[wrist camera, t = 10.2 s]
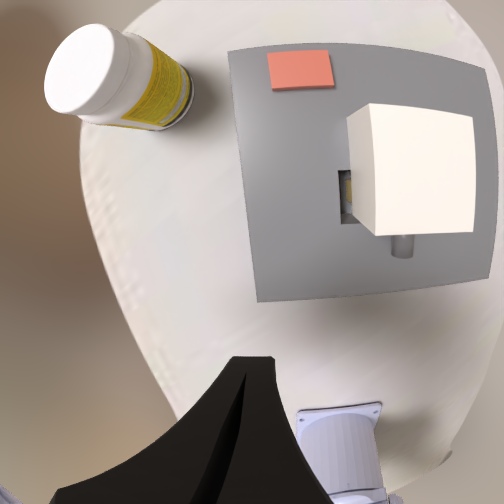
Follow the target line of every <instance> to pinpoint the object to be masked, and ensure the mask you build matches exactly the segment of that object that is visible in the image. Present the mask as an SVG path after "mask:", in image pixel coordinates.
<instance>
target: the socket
mask: <svg viewBox="0 0 504 504" xmlns="http://www.w3.org/2000/svg"><path fill="white" fill-rule="evenodd" d="M228 60H229V69H230V77H231V86H232V94H233V103H234V111H235V119H236V128H237V136H238V145H239V153H240V161H241V170H242V178H243V187H244V195H245V203H246V212H247V220H248V228H249V237H250V245H251V254H252V262H253V270H254V279H255V287H256V295H257V302H275V301H293V300H308V299H322V298H335V297H347V296H358V295H368V294H378V293H387V292H396V291H405V290H413V289H421V288H428V287H435V286H443V285H449V284H456V283H463V282H469V281H475V280H481V279H487V278H489V273H490V268H491V262H492V256H493V249H494V242H495V233H496V223H497V210H498V151H497V138H496V128H495V120H494V113H493V106H492V100H491V95H490V90H489V85H488V80H487V76H486V72H485V69H484V68H481V67H478V66H475V65H471V64H468V63H465V62H461V61H458V60H454V59H450V58H446V57H442V56H438V55H434V54H429V53H424V52H419V51H413V50H407V49H401V48H393V47H385V46H376V45H365V44H347V43H302V44H284V45H273V46H263V47H255V48H247V49H240V50H234V51H228ZM369 103H372V104H387V105H398V106H408V107H416V108H424V109H431V110H438V111H444V112H449V113H455V114H460V115H465V116H469V117H472V119H473V129H474V140H475V159H476V196H475V215H474V227H473V232H455V233H429V234H415V238H414V250H413V257H412V258H409V259H400V258H396V257H393V256H392V255H391V249H392V235H381V236H375V235H374V234H373V233H372V232H371V231H370V230H368V229H367V228H366V227H365V226H364V225H363V224H362V223H361V222H360V221H359V220H358V219H356V218H355V217H354V216H353V215H352V214H341V215H340V195H339V179H338V170H351V167H350V152H349V139H348V128H347V119H346V118H347V117H348V116H350V115H351V114H353V113H355V112H356V111H358V110H359V109H361V108H362V107H364V106H366V105H367V104H369Z"/></svg>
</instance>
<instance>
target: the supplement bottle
mask: <svg viewBox="0 0 504 504" xmlns="http://www.w3.org/2000/svg"><path fill="white" fill-rule="evenodd" d="M44 89H45V96H46V99H47V102H48V104H49V105H50V107H51V108H52V109H53V110H55V111H57V112H59V113H65V114H73V115H77V116H78V117H80V118H81V119H82V120H84V121H86V122H88V123H91V124H96V125H107V126H117V127H126V128H134V129H141V130H149V131H157V130H163V129H166V128H168V127H170V126H172V125H174V124H175V123H177V122H178V121H179V120H181V119H182V118H183V117H184V115H185V114H186V113H187V111H188V110H189V108H190V106H191V104H192V101H193V97H194V84H193V80H192V78H191V76H190V74H189V73H188V71H187V70H186V69H185V68H184V67H183V66H181V65H180V64H178V63H177V62H176V61H175V60H173V59H172V58H170V57H169V56H168V55H166V54H165V53H164V52H162V51H161V50H160V49H158V48H157V47H155V46H154V45H153V44H151V43H150V42H148V41H147V40H146V39H144V38H142V37H141V36H139V35H136V34H133V33H128V32H119V31H117V30H114V29H112V28H109V27H107V26H105V25H102V24H89V25H86V26H84V27H81V28H79V29H77V30H76V31H75V32H73V33H72V34H70V35H69V36H68V37H67V38H66V39H65V40H64V41H63V42H62V43H61V45H60V46H59V47H58V49H57V50H56V52H55V53H54V55H53V57H52V59H51V61H50V63H49V66H48V69H47V72H46V76H45V84H44Z"/></svg>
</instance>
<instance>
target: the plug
mask: <svg viewBox="0 0 504 504" xmlns="http://www.w3.org/2000/svg"><path fill="white" fill-rule="evenodd" d="M346 119H347V128H348V139H349V152H350V167H351V179H346V196H347V201H349V202H350V203H352V215H353V216H354V217H355V218H356V219H358V220H359V221H360V222H361V223H362V224H363V225H364V226H365V227H366V228H367V229H368V230H370V231H371V232H372V233H373V234H374V235H375V236H381V235H392V249H391V255H392V256H393V257H396V258H400V259H409V258H412V257H413V250H414V238H415V234H429V233H455V232H473V227H474V215H475V196H476V159H475V140H474V129H473V119H472V117H469V116H465V115H460V114H455V113H449V112H444V111H438V110H431V109H424V108H416V107H408V106H398V105H387V104H372V103H369V104H367V105H366V106H364V107H362V108H361V109H359V110H358V111H356V112H355V113H353V114H351V115H350V116H348V117H347V118H346Z"/></svg>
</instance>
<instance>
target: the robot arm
mask: <svg viewBox="0 0 504 504" xmlns="http://www.w3.org/2000/svg"><path fill="white" fill-rule="evenodd" d="M381 409H382V406H381V404H380V403H374V404H367V405H361V406H353V407H345V408H336V409H325V410H312V411H300V412H298V413H297V441H296V438H295V436H294V434H293V432H292V429H291V427H290V424H289V422H288V419H287V417H286V414H285V411H284V408H283V405H282V402H281V399H280V395H279V392H278V388H277V383H276V370H275V359H274V358H273V357H271V356H267V357H244V356H233V357H232V358H231V359H230V360H229V362H228V363H227V364H226V366H225V367H224V369H223V370H222V371H221V373H220V374H219V376H218V377H217V378H216V379H215V381H214V382H213V383H212V385H211V386H210V387H209V388H208V389H207V391H206V392H205V393H204V394H203V395H202V397H201V398H200V399H199V400H198V401H197V402H196V404H195V405H194V406H193V407H192V408H191V409H190V410H189V411H188V412H187V413H186V414H185V415H184V416H183V417H182V418H181V419H180V420H179V421H178V422H177V423H176V424H175V425H174V426H173V427H171V428H170V429H169V430H168V431H167V432H166V433H165V434H163V435H162V436H161V437H160V438H158V439H157V440H156V441H155V442H153V443H152V444H151V445H149V446H148V447H146V448H145V449H143V450H142V451H141V452H139V453H138V454H136V455H135V456H133V457H131V458H130V459H128V460H127V461H125V462H123V463H121V464H119V465H118V466H115V467H114V468H112V469H110V470H108V471H106V472H104V473H102V474H100V475H97V476H95V477H93V478H90V479H87V480H84V481H82V482H79V483H76V484H73V485H70V486H67V487H64V488H60V489H58V490H57V491H56V493H55V494H54V496H53V498H52V499H51V501H50V503H49V504H388V502H387V495H386V489H385V487H384V486H383V479H382V474H381V468H380V462H379V457H378V452H377V447H376V442H375V437H374V429H375V426H376V423H377V421H378V418H379V415H380V412H381ZM388 499H389V504H404V502H403V499H402V497H400V496H398V495H396V494H391V495H389V497H388ZM0 504H23V503H22V502H21V501H19V500H18V499H17V498H16V497H15V496H14V495H12V494H11V493H10V492H9V491H8V490H6V489H5V488H4V487H3V486H2V485H0Z"/></svg>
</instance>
